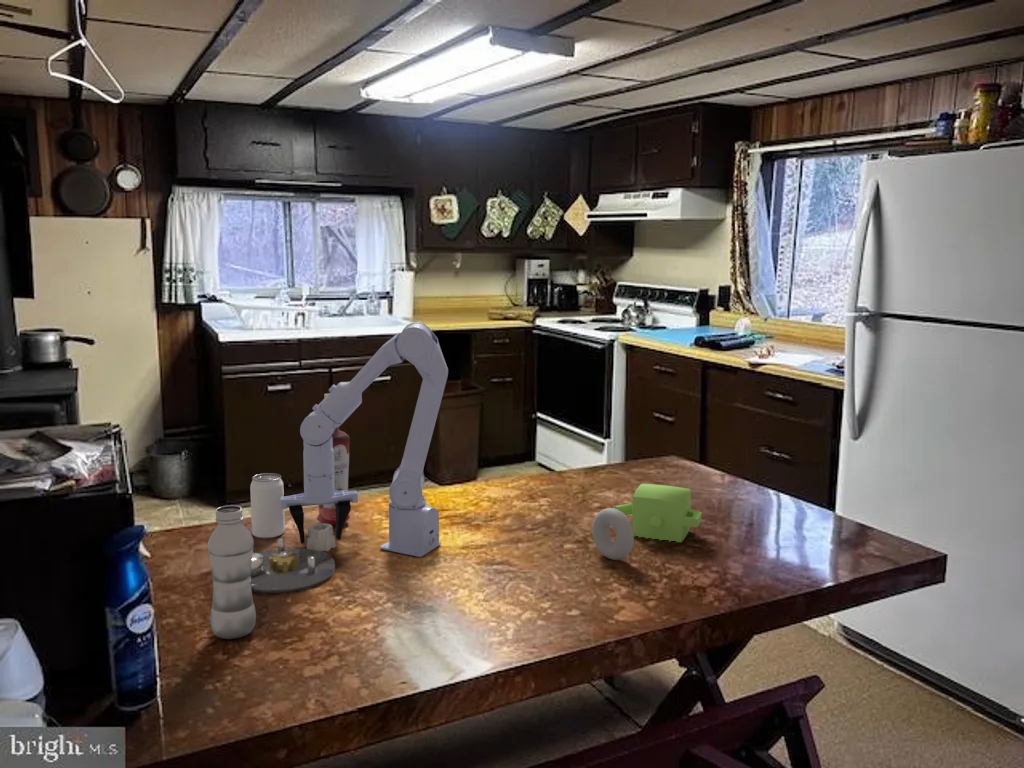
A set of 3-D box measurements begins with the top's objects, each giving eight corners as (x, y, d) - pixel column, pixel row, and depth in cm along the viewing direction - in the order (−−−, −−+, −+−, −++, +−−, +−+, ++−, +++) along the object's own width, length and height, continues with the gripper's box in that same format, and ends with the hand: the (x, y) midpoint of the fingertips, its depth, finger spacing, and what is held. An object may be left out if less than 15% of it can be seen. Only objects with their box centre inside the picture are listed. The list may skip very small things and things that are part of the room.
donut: (636, 564, 155) (639, 514, 153) (623, 569, 152) (626, 517, 151) (600, 548, 162) (602, 500, 161) (587, 552, 160) (589, 503, 159)
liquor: (325, 531, 169) (322, 399, 164) (310, 522, 174) (306, 393, 169) (357, 524, 173) (355, 395, 168) (341, 515, 179) (338, 389, 174)
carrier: (354, 563, 152) (354, 543, 152) (284, 605, 135) (283, 582, 134) (273, 546, 160) (272, 526, 160) (196, 582, 143) (195, 561, 142)
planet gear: (340, 544, 162) (340, 525, 161) (323, 553, 157) (322, 534, 156) (318, 539, 164) (317, 520, 163) (300, 548, 159) (300, 529, 159)
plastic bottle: (217, 625, 128) (211, 502, 124) (261, 624, 128) (256, 502, 125) (205, 645, 121) (198, 516, 118) (252, 644, 122) (246, 516, 118)
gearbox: (608, 537, 170) (608, 494, 168) (620, 521, 179) (620, 479, 177) (695, 549, 163) (696, 504, 161) (703, 531, 172) (704, 489, 170)
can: (275, 540, 164) (273, 482, 161) (246, 537, 165) (243, 480, 163) (290, 529, 170) (288, 473, 168) (261, 526, 171) (259, 471, 169)
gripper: (353, 464, 164) (354, 529, 167) (278, 470, 159) (280, 536, 162) (359, 474, 158) (360, 541, 160) (281, 480, 153) (283, 549, 155)
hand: (320, 539), depth 160 cm, fingers open, 6 cm apart
